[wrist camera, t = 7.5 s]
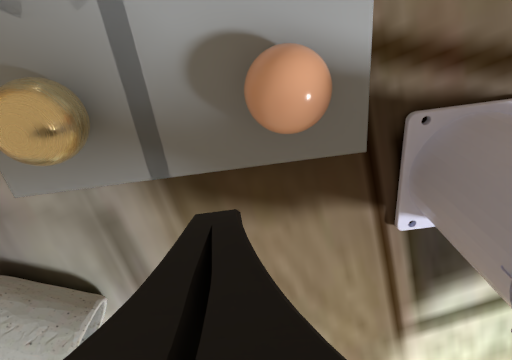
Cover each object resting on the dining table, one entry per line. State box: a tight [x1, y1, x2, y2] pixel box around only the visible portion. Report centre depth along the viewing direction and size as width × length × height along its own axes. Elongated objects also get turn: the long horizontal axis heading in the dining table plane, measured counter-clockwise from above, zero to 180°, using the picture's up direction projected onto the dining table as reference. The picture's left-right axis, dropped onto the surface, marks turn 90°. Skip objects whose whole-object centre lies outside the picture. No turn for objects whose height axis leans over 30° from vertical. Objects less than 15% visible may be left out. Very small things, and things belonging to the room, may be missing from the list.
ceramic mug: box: [0, 275, 107, 360], centre depth 20 cm, size 11×8×8 cm
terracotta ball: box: [244, 43, 332, 134], centre depth 13 cm, size 4×4×4 cm
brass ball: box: [0, 77, 90, 166], centre depth 13 cm, size 4×4×4 cm
